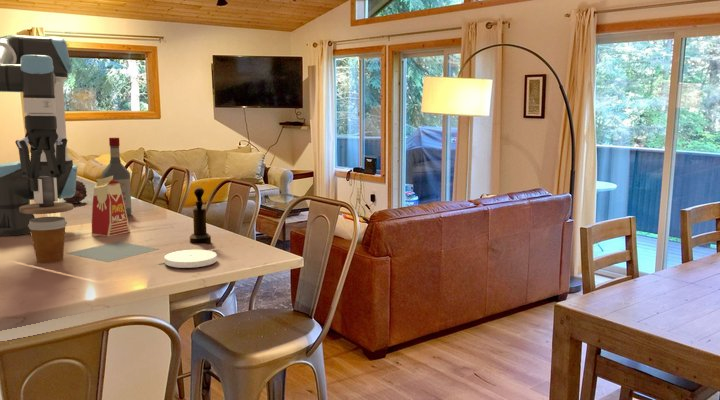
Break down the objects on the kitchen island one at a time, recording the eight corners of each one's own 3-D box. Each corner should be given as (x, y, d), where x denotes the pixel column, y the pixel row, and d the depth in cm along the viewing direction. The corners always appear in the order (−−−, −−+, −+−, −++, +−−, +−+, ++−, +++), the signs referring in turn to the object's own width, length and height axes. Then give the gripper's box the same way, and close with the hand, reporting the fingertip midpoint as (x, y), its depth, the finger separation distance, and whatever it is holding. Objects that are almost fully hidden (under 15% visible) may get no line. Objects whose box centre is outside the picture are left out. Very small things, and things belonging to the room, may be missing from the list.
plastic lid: (167, 273, 158) (167, 264, 158) (162, 260, 171) (161, 251, 171) (221, 268, 164) (221, 259, 163) (212, 256, 176) (212, 248, 176)
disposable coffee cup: (53, 267, 161) (50, 223, 159) (22, 265, 162) (19, 221, 161) (76, 259, 170) (74, 217, 168) (47, 256, 172) (44, 215, 170)
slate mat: (66, 255, 174) (66, 253, 173) (118, 243, 189) (118, 241, 189) (108, 264, 165) (108, 262, 165) (159, 250, 180) (159, 248, 180)
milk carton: (130, 233, 204) (127, 174, 200) (108, 238, 195) (105, 177, 192) (110, 230, 207) (107, 172, 204) (88, 235, 199) (85, 175, 196)
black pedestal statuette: (191, 240, 194) (190, 185, 191) (212, 240, 195) (211, 185, 192) (187, 245, 187) (186, 188, 185) (209, 245, 188) (207, 188, 185)
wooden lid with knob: (8, 210, 161) (6, 177, 160) (53, 204, 172) (51, 173, 171) (39, 215, 155) (36, 181, 154) (83, 208, 166) (81, 176, 165)
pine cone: (56, 201, 265) (55, 178, 263) (80, 199, 271) (79, 177, 269) (67, 206, 251) (65, 183, 250) (92, 204, 258) (90, 181, 256)
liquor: (132, 215, 235) (129, 138, 230) (108, 217, 230) (104, 138, 225) (127, 211, 242) (123, 137, 237) (102, 213, 237) (99, 137, 232)
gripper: (18, 115, 151) (24, 207, 154) (77, 115, 165) (82, 199, 169) (0, 114, 154) (7, 204, 158) (60, 114, 169) (65, 197, 172)
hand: (46, 201), depth 163 cm, fingers closed on wooden lid with knob, 3 cm apart
